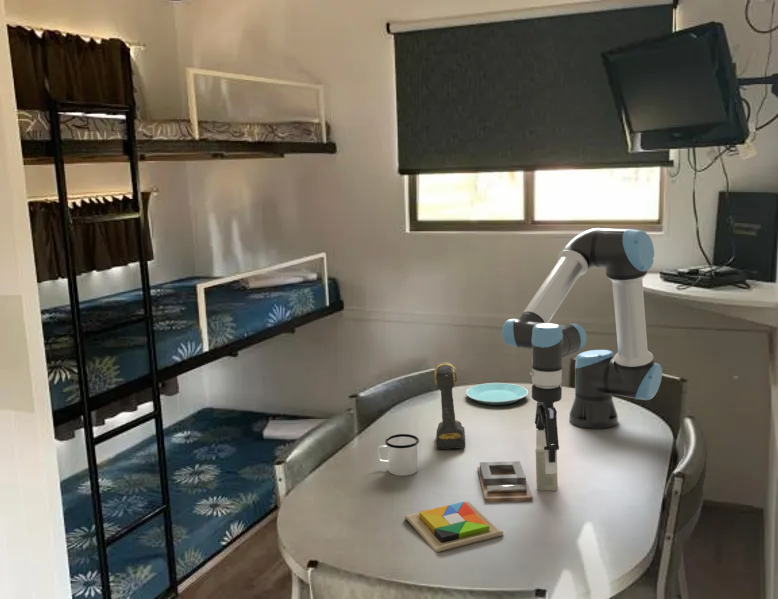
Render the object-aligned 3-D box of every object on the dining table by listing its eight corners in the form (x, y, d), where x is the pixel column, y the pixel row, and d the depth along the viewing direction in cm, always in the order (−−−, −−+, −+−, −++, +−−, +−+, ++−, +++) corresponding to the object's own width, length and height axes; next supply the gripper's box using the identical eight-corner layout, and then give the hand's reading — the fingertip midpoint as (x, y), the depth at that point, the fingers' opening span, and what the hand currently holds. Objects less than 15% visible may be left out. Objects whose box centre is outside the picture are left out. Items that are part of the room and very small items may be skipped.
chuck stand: (520, 469, 215) (520, 459, 214) (532, 500, 195) (532, 489, 194) (477, 470, 215) (477, 460, 214) (485, 502, 195) (484, 491, 195)
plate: (463, 408, 269) (463, 400, 268) (468, 389, 290) (467, 381, 290) (528, 409, 265) (528, 401, 264) (527, 390, 286) (527, 382, 286)
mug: (423, 465, 220) (423, 435, 218) (414, 478, 211) (413, 447, 209) (384, 461, 224) (383, 431, 222) (373, 474, 215) (371, 443, 213)
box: (557, 484, 204) (558, 445, 202) (555, 491, 200) (555, 451, 198) (537, 482, 206) (537, 443, 204) (535, 489, 202) (535, 449, 200)
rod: (525, 489, 199) (525, 483, 199) (527, 492, 197) (527, 486, 197) (487, 490, 199) (487, 484, 199) (487, 493, 198) (487, 487, 197)
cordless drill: (465, 428, 248) (463, 353, 243) (465, 452, 228) (463, 370, 224) (437, 428, 249) (435, 353, 244) (434, 452, 229) (432, 371, 225)
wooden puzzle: (438, 556, 171) (438, 541, 170) (402, 521, 188) (402, 507, 187) (505, 538, 178) (505, 524, 177) (465, 506, 195) (465, 493, 194)
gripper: (524, 371, 210) (524, 445, 214) (540, 399, 185) (540, 482, 189) (552, 371, 210) (551, 445, 213) (571, 398, 185) (570, 482, 189)
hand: (546, 463), depth 201 cm, fingers open, 13 cm apart
